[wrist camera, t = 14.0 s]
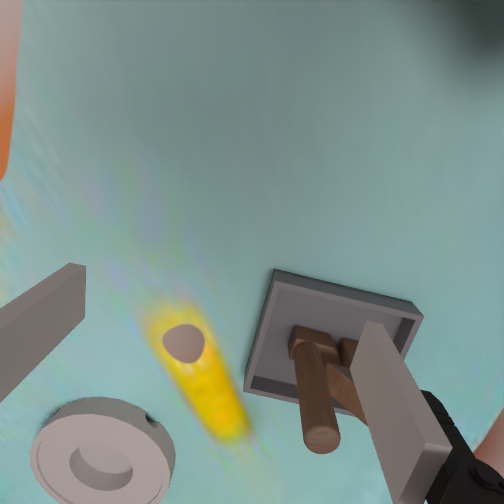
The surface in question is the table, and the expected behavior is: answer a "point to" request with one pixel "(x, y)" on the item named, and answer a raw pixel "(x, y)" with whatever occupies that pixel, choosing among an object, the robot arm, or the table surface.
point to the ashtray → (103, 454)
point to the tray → (318, 328)
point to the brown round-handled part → (323, 385)
